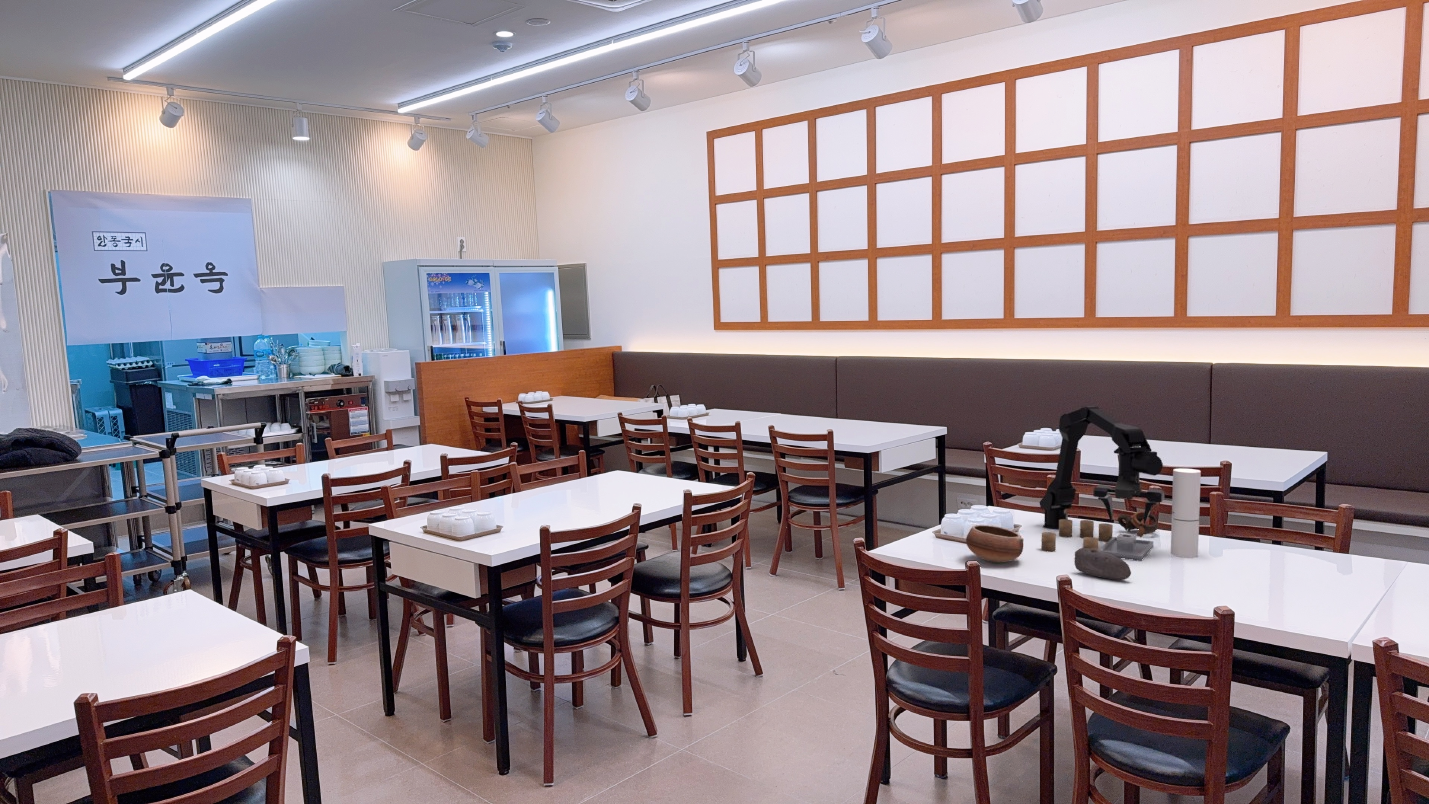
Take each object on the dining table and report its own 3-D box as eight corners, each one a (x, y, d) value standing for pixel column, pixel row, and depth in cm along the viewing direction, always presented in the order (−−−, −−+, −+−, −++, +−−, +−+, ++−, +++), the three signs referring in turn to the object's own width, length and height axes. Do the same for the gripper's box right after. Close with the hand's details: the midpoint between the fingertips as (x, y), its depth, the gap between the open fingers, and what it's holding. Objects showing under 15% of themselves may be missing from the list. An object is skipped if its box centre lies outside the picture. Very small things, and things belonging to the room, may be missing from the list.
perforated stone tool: (1135, 581, 246) (1135, 555, 246) (1125, 585, 243) (1126, 559, 242) (1082, 569, 258) (1082, 545, 257) (1072, 573, 255) (1072, 548, 254)
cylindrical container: (1191, 551, 275) (1194, 468, 272) (1202, 557, 268) (1204, 472, 265) (1166, 551, 276) (1169, 468, 273) (1176, 557, 268) (1178, 472, 266)
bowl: (1030, 568, 260) (1030, 533, 259) (973, 569, 261) (974, 534, 260) (1013, 553, 276) (1013, 521, 275) (960, 554, 276) (960, 521, 275)
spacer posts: (1039, 550, 279) (1040, 534, 278) (1062, 532, 301) (1062, 517, 300) (1095, 557, 270) (1096, 540, 269) (1114, 538, 292) (1115, 523, 291)
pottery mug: (1154, 532, 301) (1161, 513, 296) (1151, 551, 294) (1159, 532, 289) (1115, 520, 305) (1122, 502, 300) (1111, 538, 298) (1119, 520, 293)
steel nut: (1116, 549, 276) (1117, 536, 276) (1119, 546, 280) (1120, 533, 279) (1132, 551, 274) (1133, 538, 273) (1135, 548, 277) (1136, 534, 277)
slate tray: (1098, 555, 272) (1098, 550, 272) (1112, 541, 288) (1112, 536, 288) (1141, 561, 265) (1141, 556, 265) (1153, 546, 282) (1153, 541, 281)
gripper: (1089, 471, 273) (1088, 523, 274) (1158, 477, 262) (1157, 531, 264) (1098, 466, 282) (1096, 516, 283) (1165, 471, 272) (1163, 523, 273)
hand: (1127, 521), depth 276 cm, fingers open, 9 cm apart
